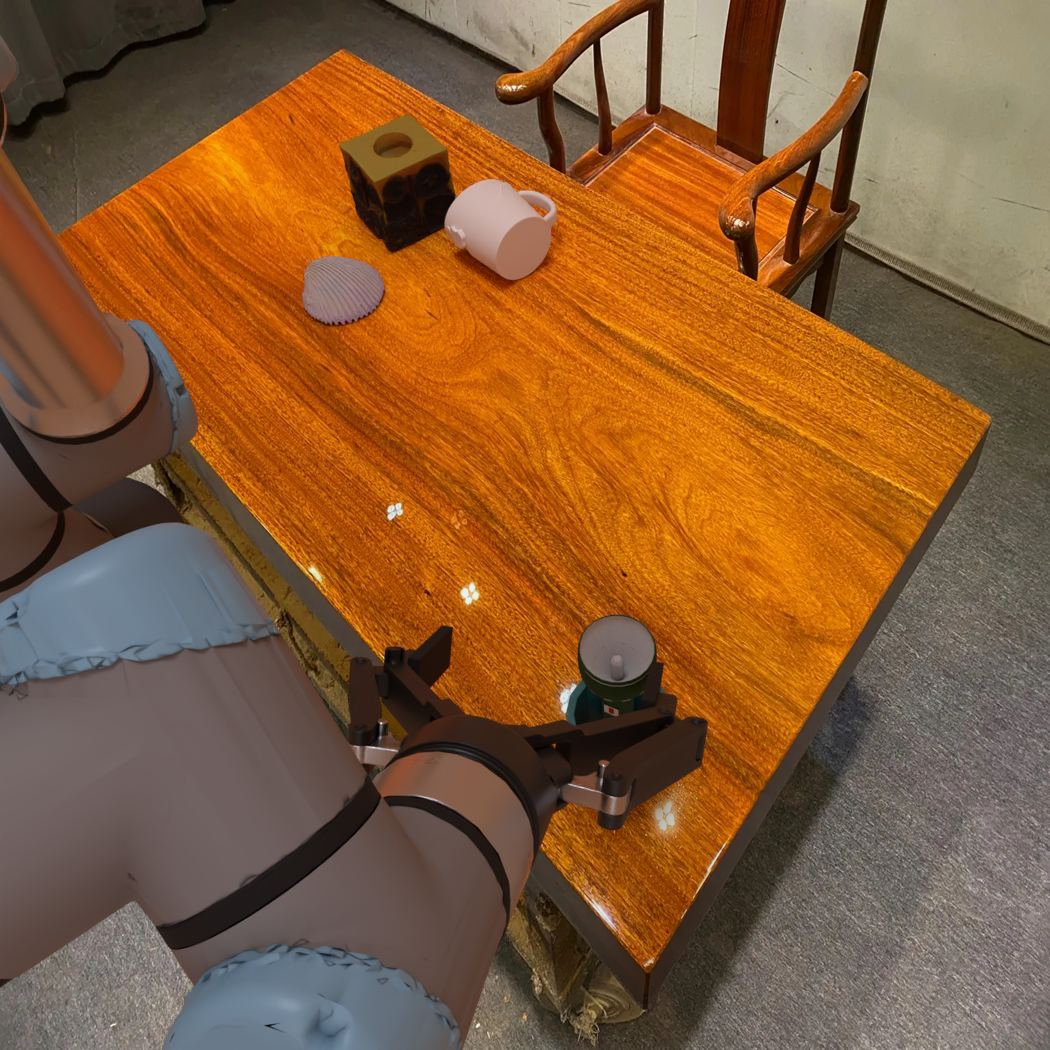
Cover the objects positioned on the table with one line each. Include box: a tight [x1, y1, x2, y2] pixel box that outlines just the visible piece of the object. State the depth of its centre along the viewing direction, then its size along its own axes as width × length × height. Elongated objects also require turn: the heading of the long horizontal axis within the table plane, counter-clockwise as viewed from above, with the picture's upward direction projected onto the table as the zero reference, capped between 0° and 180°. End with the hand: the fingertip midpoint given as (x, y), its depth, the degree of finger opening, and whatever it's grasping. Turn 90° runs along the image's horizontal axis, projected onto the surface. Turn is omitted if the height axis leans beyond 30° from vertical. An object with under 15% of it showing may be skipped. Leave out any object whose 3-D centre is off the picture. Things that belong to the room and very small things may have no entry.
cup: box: [565, 679, 668, 805], centre depth 72 cm, size 8×8×10 cm
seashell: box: [301, 256, 386, 326], centre depth 109 cm, size 10×6×10 cm
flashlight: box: [577, 614, 658, 719], centre depth 67 cm, size 5×5×20 cm
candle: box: [338, 113, 457, 252], centre depth 114 cm, size 10×10×10 cm
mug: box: [444, 178, 558, 281], centre depth 109 cm, size 12×9×8 cm
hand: (548, 663), depth 59 cm, fingers open, 13 cm apart
